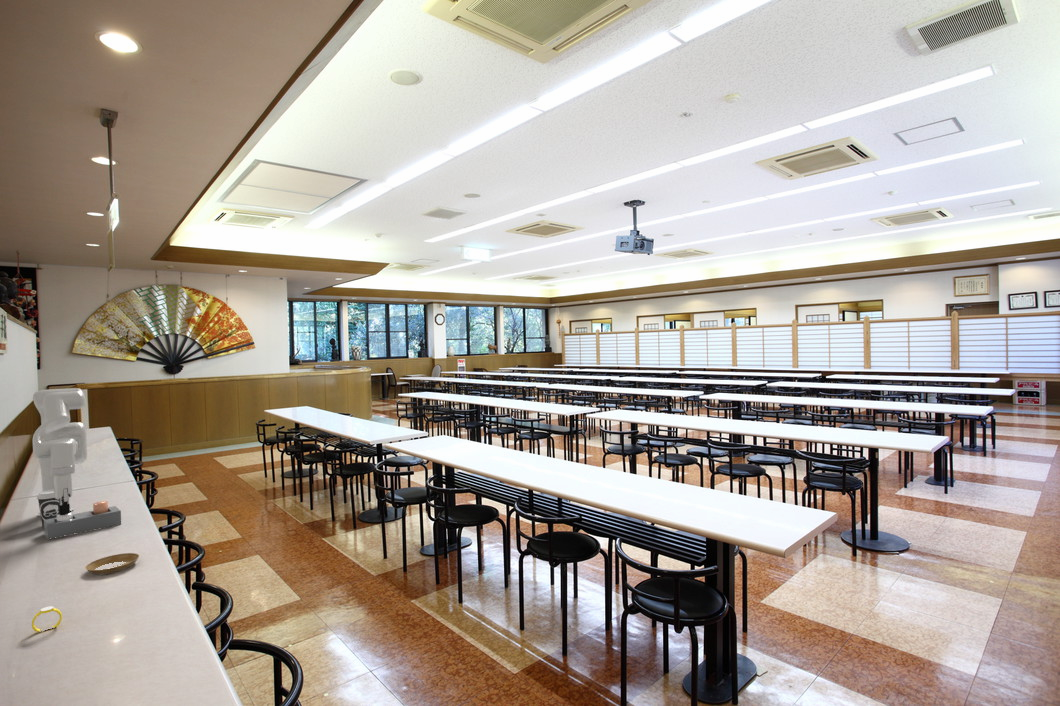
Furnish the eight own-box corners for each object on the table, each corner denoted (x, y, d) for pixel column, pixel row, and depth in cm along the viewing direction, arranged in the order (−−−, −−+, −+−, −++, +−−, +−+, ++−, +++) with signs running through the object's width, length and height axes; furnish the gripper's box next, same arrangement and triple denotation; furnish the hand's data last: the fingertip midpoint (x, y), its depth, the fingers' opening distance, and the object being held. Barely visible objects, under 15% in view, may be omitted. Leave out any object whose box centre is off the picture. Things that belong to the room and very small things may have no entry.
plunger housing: (44, 534, 221) (43, 520, 221) (115, 519, 239) (115, 506, 239) (47, 540, 213) (47, 525, 213) (121, 524, 231) (120, 510, 231)
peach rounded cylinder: (92, 515, 230) (92, 503, 230) (106, 512, 234) (106, 500, 234) (94, 517, 227) (94, 505, 227) (109, 514, 231) (108, 502, 231)
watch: (61, 625, 146) (62, 603, 146) (61, 629, 143) (62, 607, 144) (31, 631, 142) (33, 609, 142) (30, 635, 140) (32, 613, 140)
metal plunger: (56, 527, 221) (55, 514, 221) (71, 524, 225) (71, 511, 225) (58, 529, 218) (57, 516, 218) (73, 526, 222) (73, 513, 222)
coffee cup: (72, 521, 237) (71, 488, 237) (51, 528, 227) (49, 494, 227) (53, 521, 238) (52, 488, 238) (31, 528, 228) (30, 494, 228)
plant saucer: (76, 580, 175) (75, 572, 174) (99, 563, 189) (99, 555, 189) (127, 574, 178) (127, 566, 178) (146, 557, 193) (146, 550, 193)
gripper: (48, 470, 223) (50, 513, 223) (53, 474, 213) (55, 519, 213) (71, 466, 229) (73, 508, 229) (77, 471, 219) (79, 515, 219)
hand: (64, 513), depth 221 cm, fingers closed
